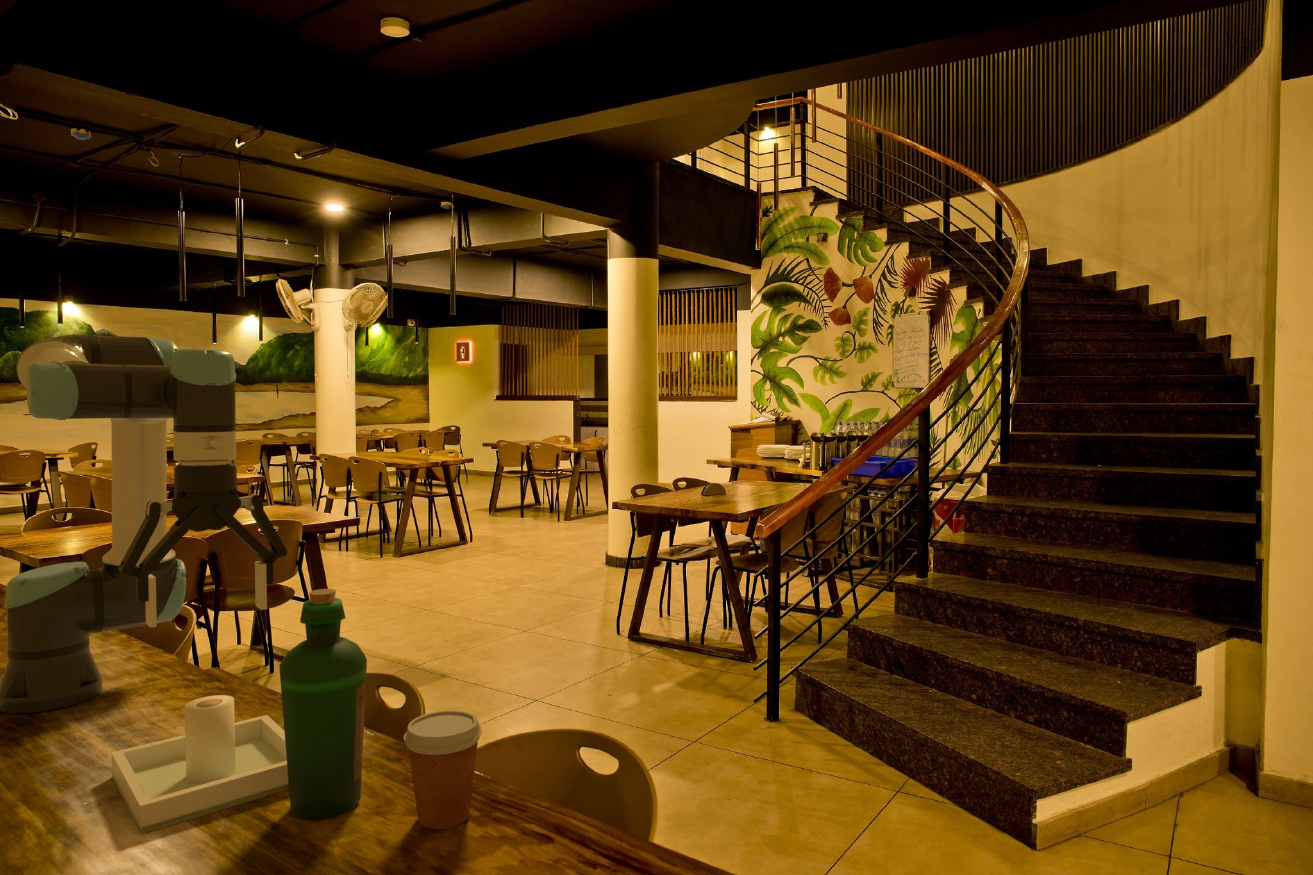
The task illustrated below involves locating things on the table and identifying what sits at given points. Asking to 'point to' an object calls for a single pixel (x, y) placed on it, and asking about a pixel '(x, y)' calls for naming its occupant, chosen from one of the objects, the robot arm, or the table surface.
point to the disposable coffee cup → (443, 766)
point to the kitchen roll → (209, 739)
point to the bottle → (323, 712)
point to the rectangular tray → (167, 798)
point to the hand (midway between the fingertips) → (208, 616)
